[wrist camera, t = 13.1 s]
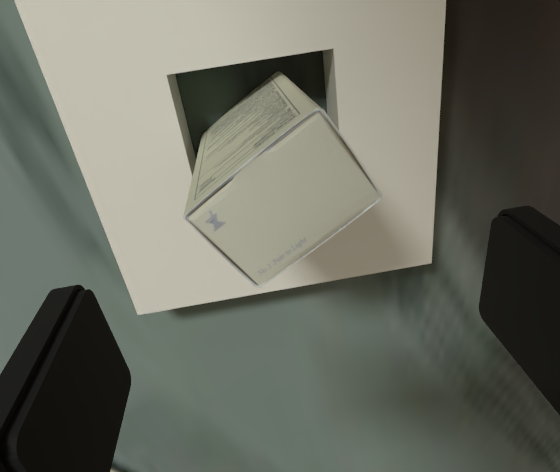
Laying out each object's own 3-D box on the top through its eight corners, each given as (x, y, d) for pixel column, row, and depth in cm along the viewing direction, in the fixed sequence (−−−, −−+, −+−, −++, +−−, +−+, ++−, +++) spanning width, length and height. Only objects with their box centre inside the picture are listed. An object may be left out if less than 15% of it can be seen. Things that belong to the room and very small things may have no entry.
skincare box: (245, 184, 27) (255, 296, 16) (198, 131, 25) (174, 220, 14) (323, 123, 26) (389, 202, 15) (279, 62, 24) (321, 104, 13)
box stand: (26, -39, 20) (-4, -46, 18) (424, -98, 21) (452, -114, 18) (145, 288, 30) (138, 315, 27) (414, 241, 30) (431, 263, 28)
